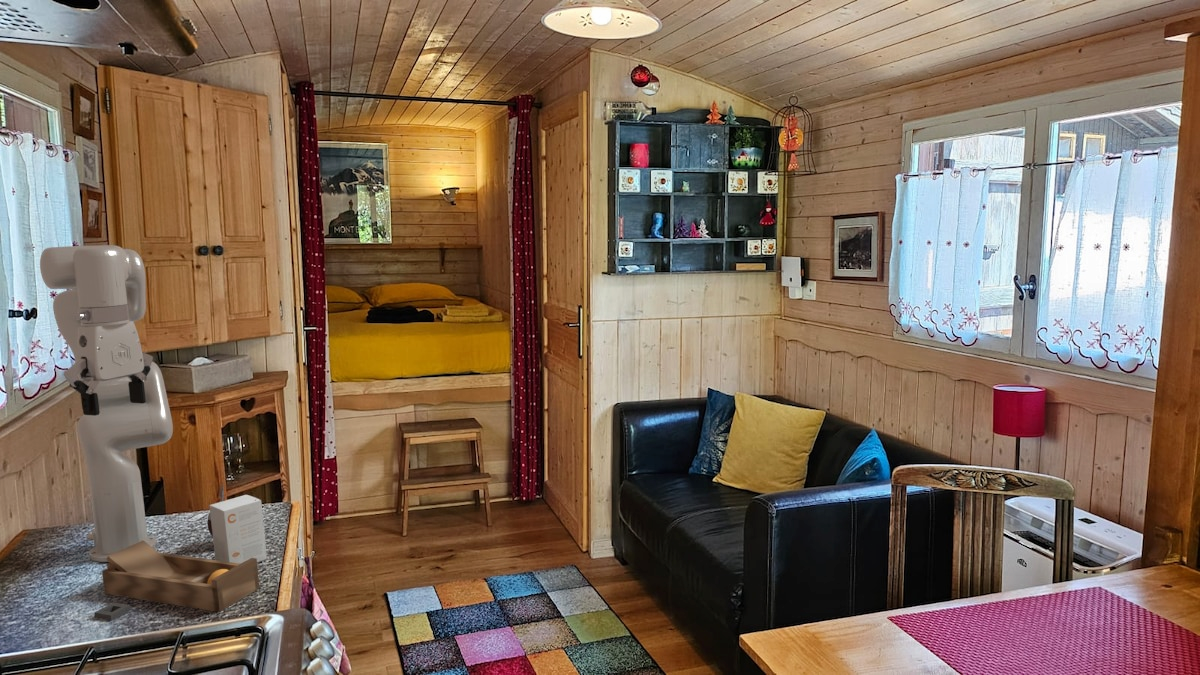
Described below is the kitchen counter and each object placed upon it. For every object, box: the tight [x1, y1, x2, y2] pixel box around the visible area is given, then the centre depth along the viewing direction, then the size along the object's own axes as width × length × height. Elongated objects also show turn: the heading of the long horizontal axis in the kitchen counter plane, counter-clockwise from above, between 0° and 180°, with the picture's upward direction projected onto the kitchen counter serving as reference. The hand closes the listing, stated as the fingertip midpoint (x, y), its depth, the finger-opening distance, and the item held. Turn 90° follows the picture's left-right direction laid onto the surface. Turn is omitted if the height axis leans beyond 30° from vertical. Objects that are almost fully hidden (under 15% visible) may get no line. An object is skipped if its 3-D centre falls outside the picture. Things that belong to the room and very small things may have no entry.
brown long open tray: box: [101, 540, 260, 613], centre depth 157 cm, size 28×10×7 cm, turn 71°
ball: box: [207, 569, 228, 585], centre depth 153 cm, size 5×5×5 cm
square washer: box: [93, 602, 132, 621], centre depth 148 cm, size 4×4×1 cm
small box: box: [209, 494, 268, 564], centre depth 169 cm, size 8×6×13 cm
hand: (115, 408), depth 150 cm, fingers open, 9 cm apart
